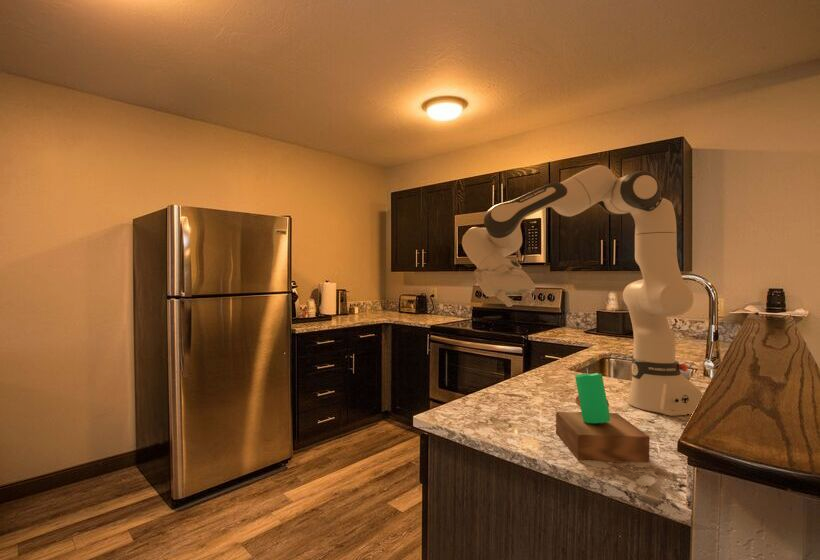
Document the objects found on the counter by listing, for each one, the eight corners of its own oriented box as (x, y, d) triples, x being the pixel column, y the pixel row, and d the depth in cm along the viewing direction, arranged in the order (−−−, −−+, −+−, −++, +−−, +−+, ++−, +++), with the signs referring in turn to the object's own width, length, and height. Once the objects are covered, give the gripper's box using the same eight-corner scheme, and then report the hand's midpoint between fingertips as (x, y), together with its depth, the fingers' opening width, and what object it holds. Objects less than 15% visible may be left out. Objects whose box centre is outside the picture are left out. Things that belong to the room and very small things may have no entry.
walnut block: (616, 437, 103) (616, 413, 103) (649, 464, 88) (649, 436, 88) (555, 435, 103) (556, 411, 103) (577, 462, 88) (578, 434, 88)
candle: (608, 423, 92) (598, 368, 93) (580, 423, 95) (571, 370, 96) (612, 417, 97) (602, 365, 98) (585, 417, 100) (576, 367, 102)
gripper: (477, 261, 116) (504, 297, 108) (522, 263, 128) (549, 296, 121) (465, 277, 119) (490, 313, 112) (511, 277, 132) (536, 310, 124)
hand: (521, 304), depth 116 cm, fingers open, 8 cm apart
